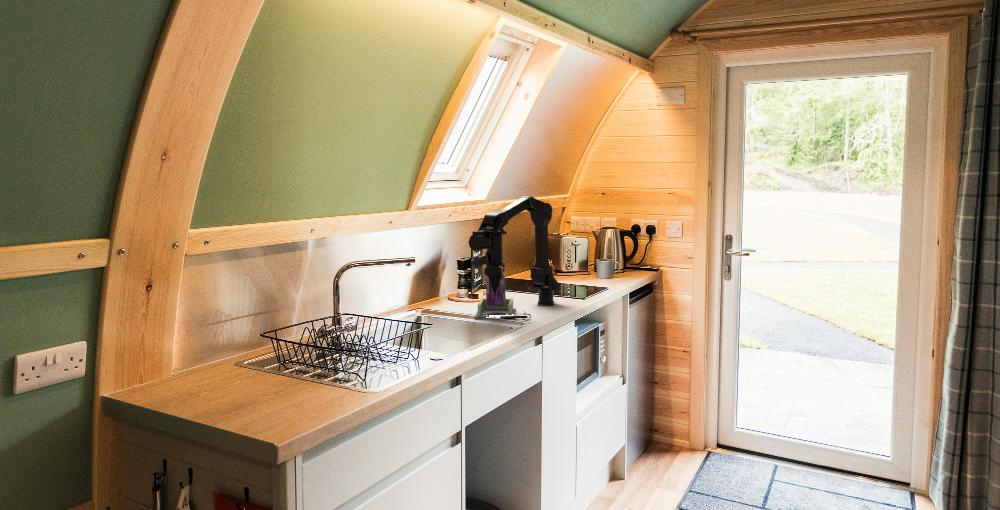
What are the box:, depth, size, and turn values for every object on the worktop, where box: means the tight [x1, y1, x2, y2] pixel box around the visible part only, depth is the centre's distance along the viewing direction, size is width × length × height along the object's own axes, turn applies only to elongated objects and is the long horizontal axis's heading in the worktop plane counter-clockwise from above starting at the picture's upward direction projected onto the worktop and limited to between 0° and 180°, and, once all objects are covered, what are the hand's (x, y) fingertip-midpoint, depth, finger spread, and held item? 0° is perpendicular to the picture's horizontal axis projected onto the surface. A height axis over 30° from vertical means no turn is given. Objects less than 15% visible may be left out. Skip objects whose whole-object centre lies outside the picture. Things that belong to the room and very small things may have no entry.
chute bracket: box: [474, 298, 517, 320], centre depth 286 cm, size 15×14×5 cm
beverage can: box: [485, 272, 507, 307], centre depth 284 cm, size 7×7×12 cm
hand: (495, 290), depth 284 cm, fingers closed on beverage can, 7 cm apart
